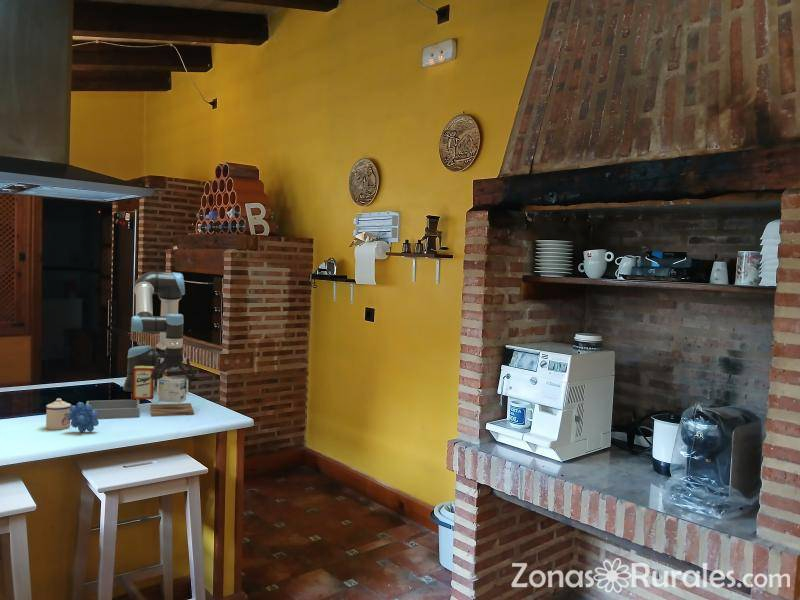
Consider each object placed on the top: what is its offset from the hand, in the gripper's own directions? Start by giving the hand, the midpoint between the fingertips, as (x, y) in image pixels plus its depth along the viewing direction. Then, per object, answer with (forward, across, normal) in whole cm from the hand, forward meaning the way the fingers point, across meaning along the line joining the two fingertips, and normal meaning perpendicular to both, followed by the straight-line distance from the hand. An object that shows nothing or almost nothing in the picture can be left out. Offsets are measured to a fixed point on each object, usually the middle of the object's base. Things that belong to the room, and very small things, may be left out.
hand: (172, 393), depth 290 cm
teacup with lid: (+8, -44, -20) cm, 49 cm away
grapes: (+9, -35, -32) cm, 48 cm away
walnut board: (+8, 0, 0) cm, 8 cm away
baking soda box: (+8, -12, +32) cm, 35 cm away
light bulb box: (+4, 0, 0) cm, 4 cm away
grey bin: (+8, -25, 0) cm, 26 cm away
